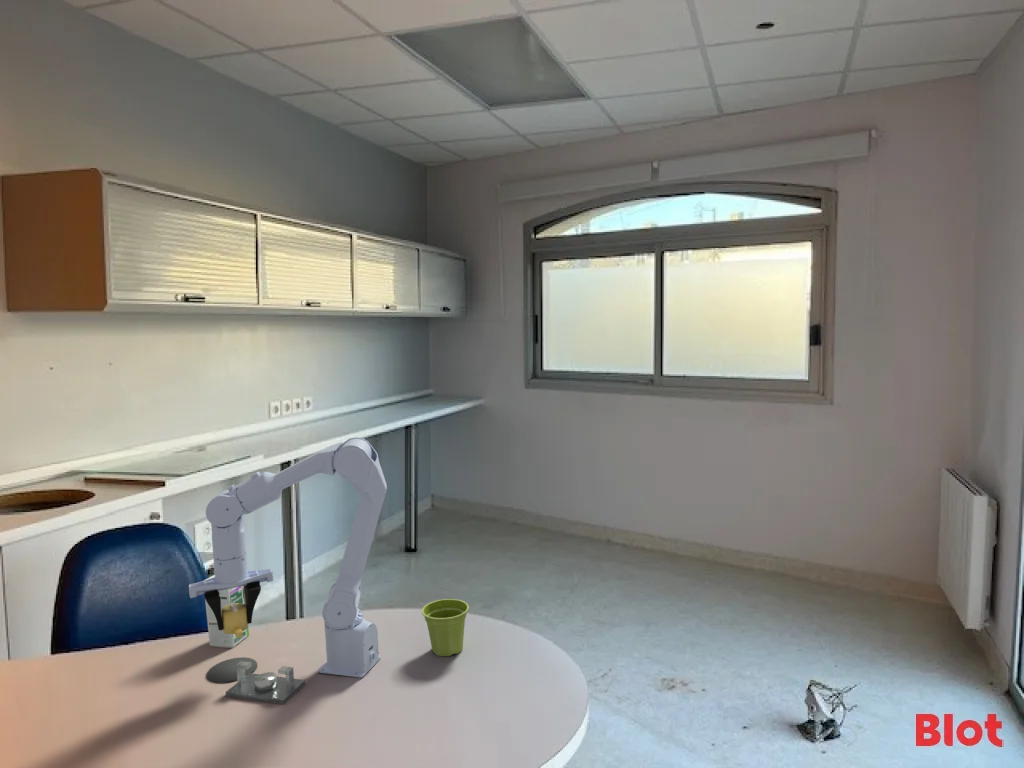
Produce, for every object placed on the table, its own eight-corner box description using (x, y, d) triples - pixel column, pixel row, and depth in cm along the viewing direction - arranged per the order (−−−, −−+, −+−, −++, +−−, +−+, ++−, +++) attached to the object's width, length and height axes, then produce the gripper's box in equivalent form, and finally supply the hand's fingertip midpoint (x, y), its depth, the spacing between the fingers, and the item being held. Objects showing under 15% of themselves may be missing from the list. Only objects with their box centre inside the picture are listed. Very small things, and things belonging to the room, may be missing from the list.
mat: (266, 661, 136) (266, 660, 136) (237, 685, 127) (236, 683, 127) (228, 656, 138) (228, 655, 138) (196, 679, 129) (196, 678, 129)
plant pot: (417, 659, 134) (414, 616, 134) (432, 637, 143) (430, 597, 143) (462, 663, 132) (460, 619, 131) (475, 640, 141) (474, 600, 141)
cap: (252, 633, 127) (250, 611, 127) (227, 640, 125) (225, 617, 125) (242, 617, 134) (241, 595, 134) (218, 623, 132) (217, 601, 131)
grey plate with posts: (305, 684, 127) (304, 660, 126) (283, 704, 120) (282, 679, 120) (249, 677, 130) (248, 653, 129) (225, 696, 123) (223, 671, 123)
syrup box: (233, 648, 142) (228, 580, 140) (208, 646, 143) (202, 579, 141) (249, 635, 147) (244, 570, 146) (224, 634, 148) (219, 569, 147)
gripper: (266, 542, 136) (270, 608, 137) (185, 556, 128) (190, 626, 130) (273, 552, 129) (277, 621, 131) (188, 568, 122) (194, 641, 124)
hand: (234, 624), depth 130 cm, fingers closed on cap, 4 cm apart
